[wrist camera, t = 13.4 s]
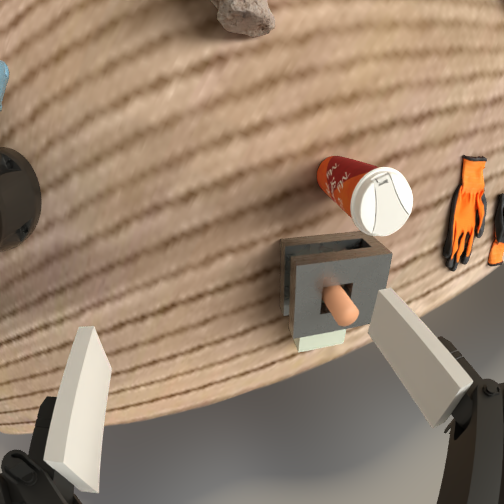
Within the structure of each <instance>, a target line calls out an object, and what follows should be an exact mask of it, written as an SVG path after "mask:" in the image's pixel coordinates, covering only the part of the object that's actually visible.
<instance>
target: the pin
mask: <svg viewBox="0 0 504 504" xmlns="http://www.w3.org/2000/svg"><path fill="white" fill-rule="evenodd" d="M322 300H323V301H324V303H325V304H326V306H327V308H328V309H329V311H330V312H331V314H332V316H333V317H334V319H335V321H336V322H337V324H338V325H339V326H348V325H350V324H352V323H353V322H355V320H356V319H357V318H358V315H359V310H358V309H357V307H356V306H355V305H354V303H353V302H352V300H351V299H350V298H349V296H348V295H347V294H346V292H345V291H344V290H343V288H342V287H341V286H340V285H336V286H329V287H323V290H322Z"/></svg>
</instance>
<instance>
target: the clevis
mask: <svg viewBox="0 0 504 504" xmlns="http://www.w3.org/2000/svg"><path fill="white" fill-rule="evenodd" d="M391 259H392V252H390V251H389V250H388V249H387V248H386V247H385V246H384V245H382V244H381V243H380V242H379V241H378V240H376V239H375V238H374V237H373V236H371V235H367V234H365V233H363V232H362V231H358V232H347V233H337V234H327V235H317V236H307V237H297V238H287V239H280V308H281V311H282V313H283V316H287V315H289V330H290V333H291V335H292V338H293V339H295V338H301V337H307V336H312V335H318V334H323V333H328V332H333V331H338V330H343V329H348V328H352V327H357V326H362V325H366V324H370V322H371V318H372V315H373V311H374V307H375V303H376V298H377V294H378V290H381V289H386V284H387V280H388V275H389V269H390V264H391ZM342 284H344V291H345V292H346V294H347V295H348V296H349V298H350V299H351V300H352V302H353V303H354V305H355V306H356V307H357V309H358V310H359V315H358V318H357V319H356V320H355V322H353V323H352V324H350V325H348V326H339V325H338V324H337V322H336V321H335V319H334V317H333V316H332V314H331V312H330V311H329V309H328V308H327V306H326V304H325V303H321V300H322V290H323V287H329V286H336V285H342Z"/></svg>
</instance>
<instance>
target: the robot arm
mask: <svg viewBox="0 0 504 504" xmlns="http://www.w3.org/2000/svg"><path fill="white" fill-rule="evenodd" d="M8 79H9V69H8V67H7V65H6V63H5V62H3V61H2V60H0V111H1V110H2V105H1V104H2V100H3V96H4V93H5V89H6V86H7V83H8ZM40 212H41V192H40V186H39V183H38V179H37V177H36V174H35V172H34V170H33V168H32V167H31V165H30V164H29V162H28V161H27V160H26V159H25V158H24V157H23V156H22V155H21V154H20V153H18V152H17V151H15V150H13V149H10V148H5V147H0V252H1V251H5V250H8V249H12V248H14V247H16V246H18V245H20V244H21V243H22V242H23V241H24V240H25V239H26V238H28V237H29V236H30V235H31V233H32V232H33V231H34V229H35V227H36V225H37V223H38V220H39V217H40ZM368 334H369V335H370V337H371V338H372V340H373V341H374V342H375V344H376V345H377V347H378V348H379V350H380V351H381V352H382V354H383V355H384V357H385V358H386V360H387V361H388V363H389V364H390V366H391V367H392V368H393V370H394V371H395V373H396V374H397V376H398V377H399V379H400V380H401V382H402V383H403V385H404V386H405V388H406V389H407V391H408V392H409V394H410V395H411V397H412V398H413V400H414V401H415V403H416V404H417V406H418V407H419V409H420V410H421V412H422V414H423V415H424V417H425V418H426V420H427V421H428V423H429V424H430V426H431V428H434V427H436V426H438V425H440V424H442V423H444V422H445V421H446V420H447V419H448V417H449V416H450V415H451V414H452V416H453V417H454V419H453V420H452V421H451V423H450V424H449V425H448V426H447V428H446V429H445V431H444V433H447V431H448V430H449V429H450V428H451V431H450V433H449V434H450V438H449V445H448V452H447V458H446V464H445V469H444V474H443V479H442V484H441V489H440V493H439V497H438V501H437V504H504V383H501V384H498V383H497V382H495V381H493V380H491V379H482V378H481V377H480V376H479V375H478V373H477V372H476V371H475V370H474V369H473V368H472V367H471V365H470V364H469V363H468V362H467V361H466V359H465V358H464V357H462V355H461V353H460V352H459V351H457V349H456V348H455V347H454V346H453V344H452V343H451V342H450V341H448V340H446V339H445V338H443V337H441V336H440V337H438V338H437V337H436V336H435V335H434V334H433V333H432V332H431V330H430V329H429V328H428V327H427V326H426V325H425V324H424V323H423V322H422V320H421V319H420V318H419V317H418V316H417V315H416V314H415V313H414V312H413V311H412V309H411V308H410V307H409V306H408V305H407V304H406V303H405V302H404V301H403V300H402V299H401V298H400V297H399V296H398V294H397V293H396V292H395V291H394V290H393V289H392V288H386V289H381V290H378V294H377V298H376V303H375V307H374V311H373V315H372V318H371V322H370V326H369V330H368ZM111 372H112V368H111V365H110V363H109V361H108V359H107V356H106V354H105V352H104V349H103V347H102V345H101V342H100V340H99V337H98V335H97V332H96V330H95V327H94V326H86V327H79V328H78V331H77V334H76V337H75V340H74V342H73V345H72V349H71V352H70V355H69V358H68V361H67V364H66V368H65V371H64V374H63V378H62V381H61V385H60V388H59V392H58V396H57V397H49V396H47V397H46V399H45V400H44V401H43V403H42V404H41V406H40V409H39V412H38V416H37V417H38V419H37V420H36V424H35V428H34V432H33V436H32V440H31V445H30V449H29V455H27V454H26V453H25V452H23V451H21V450H12V451H10V452H8V453H7V454H6V455H5V456H4V458H3V460H2V465H1V469H2V473H1V474H0V504H82V503H81V502H80V500H79V499H78V498H77V496H76V495H75V494H74V493H73V492H74V486H75V487H76V488H77V489H79V490H80V491H85V492H94V493H98V492H99V476H100V461H101V449H102V438H103V429H104V420H105V412H106V405H107V397H108V391H109V384H110V378H111Z"/></svg>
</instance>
